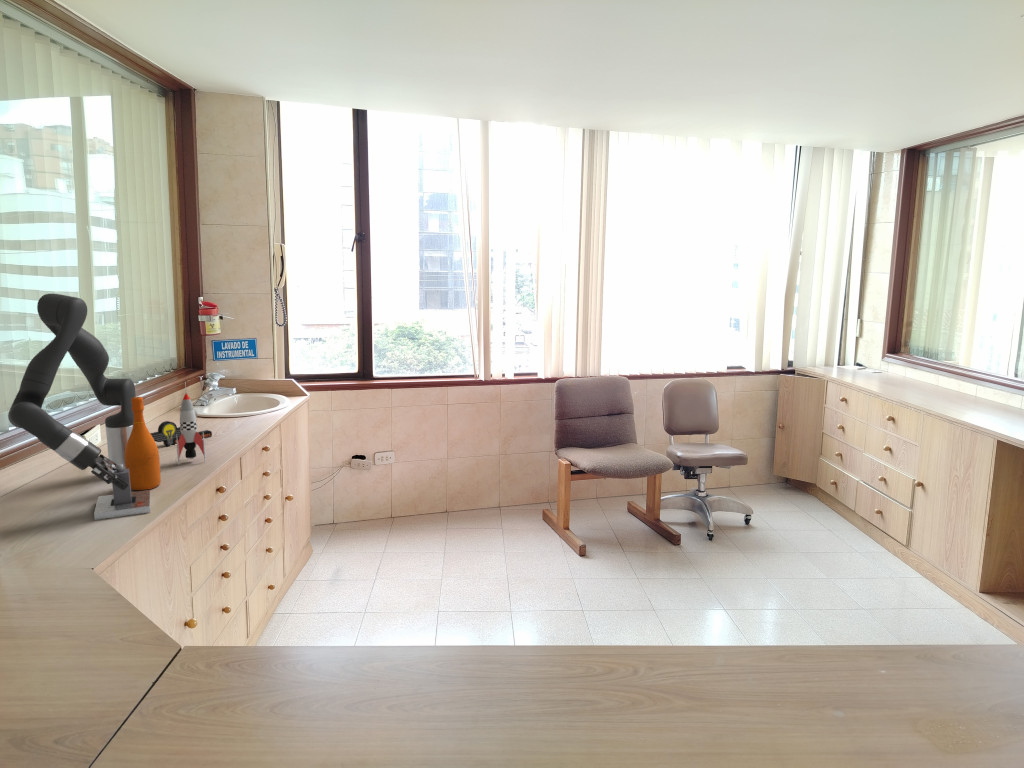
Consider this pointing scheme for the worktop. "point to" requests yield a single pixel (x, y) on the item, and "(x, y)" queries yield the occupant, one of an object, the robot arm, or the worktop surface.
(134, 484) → the wine bottle
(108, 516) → the socket
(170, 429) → the decorative sign
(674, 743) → the worktop surface
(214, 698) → the worktop surface
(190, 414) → the toy
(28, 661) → the worktop surface
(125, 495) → the plug
